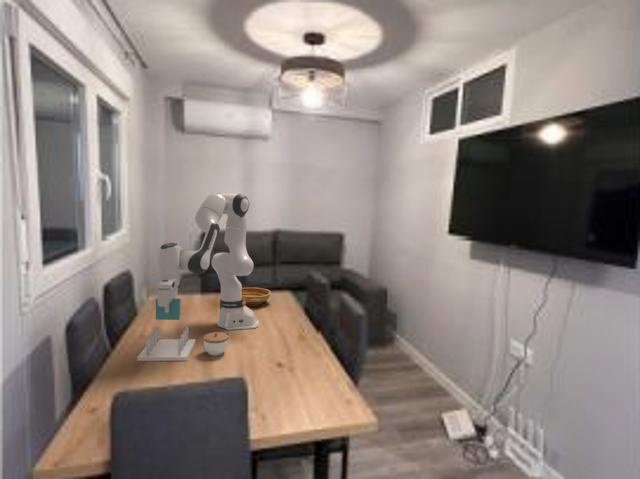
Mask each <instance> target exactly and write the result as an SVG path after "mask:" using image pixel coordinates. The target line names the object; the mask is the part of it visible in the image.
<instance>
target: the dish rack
mask: <svg viewBox="0 0 640 479" xmlns="http://www.w3.org/2000/svg"><path fill="white" fill-rule="evenodd" d="M155 328H156V329H154V330H152V331H153V333H152V334H151V333H150V334H149V338H146V341H145V342H146V343H145V345H146V346H144V348H143V349H142V351H141V352H140V353H139V355H137V357H136V361H137V362H139V361H140V362H143V361H144V362H146V361H148V362H149V361H150V362H151V361H153V362H155V361H156V362H157V361H158V362H159V361H160V362H161V361H163V362H164V361H167V362H168V361H169V362H170V361H171V362H173V361H175V362H176V361H178V362H179V361H181V362H182V361H184V362H185V361H188V359H189V358H190V357H189V356H190V354H191V352H192V350H193V348H194V347H195V344H196V338H195V339H192V338H191V339H189V326H185V330H183V331H182V334H180V338H178V339H177V338H176V339H171V338H167V339H166V338H165V339H164V338H161V339H160V326H156V327H155Z"/></svg>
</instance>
